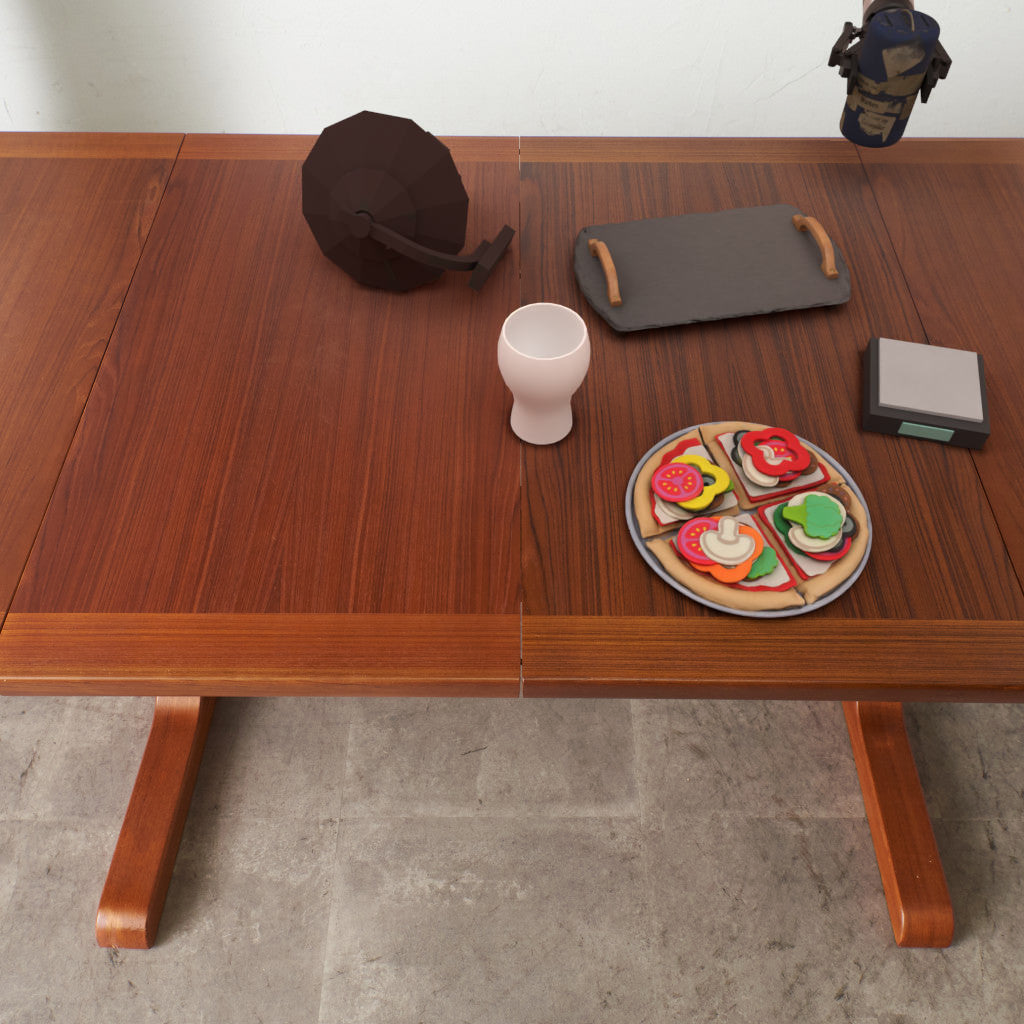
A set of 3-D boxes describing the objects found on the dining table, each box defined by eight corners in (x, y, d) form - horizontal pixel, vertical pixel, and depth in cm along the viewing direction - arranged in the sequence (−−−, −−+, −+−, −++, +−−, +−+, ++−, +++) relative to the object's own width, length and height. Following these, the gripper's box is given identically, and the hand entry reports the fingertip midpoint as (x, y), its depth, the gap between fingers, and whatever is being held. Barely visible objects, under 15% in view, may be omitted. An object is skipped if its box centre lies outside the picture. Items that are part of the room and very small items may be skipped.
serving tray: (595, 349, 120) (598, 313, 115) (558, 244, 134) (559, 207, 129) (866, 313, 124) (881, 277, 119) (804, 215, 138) (814, 178, 133)
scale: (973, 371, 117) (984, 351, 115) (980, 451, 109) (993, 431, 106) (863, 354, 119) (871, 333, 117) (862, 431, 111) (871, 411, 108)
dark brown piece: (386, 50, 129) (304, 85, 105) (559, 156, 132) (518, 213, 108) (330, 197, 143) (247, 257, 119) (488, 289, 146) (438, 367, 122)
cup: (563, 382, 116) (569, 290, 104) (597, 440, 110) (607, 349, 98) (486, 404, 114) (483, 312, 102) (517, 464, 108) (517, 373, 96)
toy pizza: (788, 404, 114) (797, 380, 110) (918, 578, 98) (933, 555, 95) (587, 462, 108) (589, 437, 105) (691, 655, 93) (698, 634, 89)
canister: (835, 148, 135) (873, 24, 120) (837, 116, 140) (873, -7, 126) (901, 157, 133) (947, 32, 119) (900, 124, 139) (944, 0, 124)
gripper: (953, 50, 141) (961, 124, 128) (809, 35, 144) (802, 106, 131) (972, -1, 135) (983, 72, 122) (821, -15, 138) (816, 54, 125)
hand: (889, 89), depth 127 cm, fingers closed on canister, 9 cm apart
